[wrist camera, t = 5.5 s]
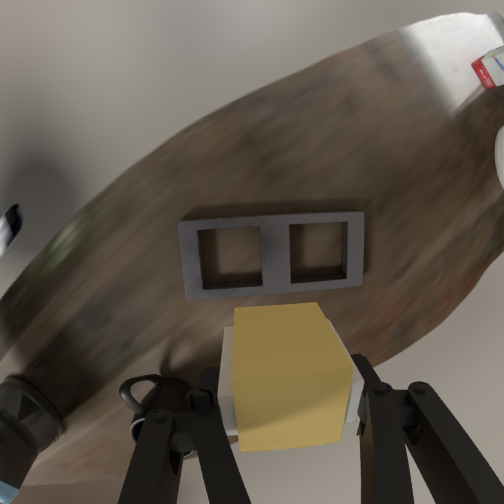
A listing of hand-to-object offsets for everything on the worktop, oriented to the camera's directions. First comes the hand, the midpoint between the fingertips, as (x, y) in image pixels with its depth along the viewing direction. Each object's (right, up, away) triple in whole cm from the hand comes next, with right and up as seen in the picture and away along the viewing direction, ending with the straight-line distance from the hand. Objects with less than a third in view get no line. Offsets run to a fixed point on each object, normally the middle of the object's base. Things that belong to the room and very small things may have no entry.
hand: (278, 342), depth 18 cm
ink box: (+37, +35, +10) cm, 52 cm away
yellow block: (0, 0, 0) cm, 0 cm away
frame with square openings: (+1, +6, +15) cm, 16 cm away
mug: (-13, -12, +19) cm, 26 cm away
